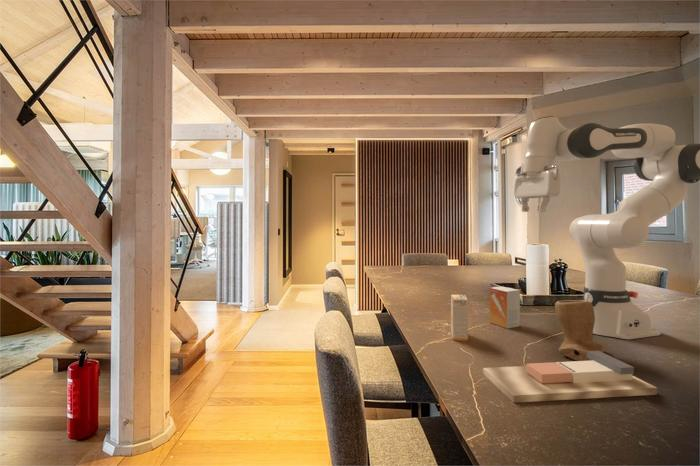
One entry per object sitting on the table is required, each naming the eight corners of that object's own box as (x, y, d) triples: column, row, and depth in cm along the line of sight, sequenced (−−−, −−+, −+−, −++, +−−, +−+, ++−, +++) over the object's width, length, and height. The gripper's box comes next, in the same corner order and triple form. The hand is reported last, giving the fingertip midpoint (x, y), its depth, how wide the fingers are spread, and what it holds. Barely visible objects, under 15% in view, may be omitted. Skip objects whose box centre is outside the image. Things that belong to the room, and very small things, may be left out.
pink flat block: (554, 370, 86) (554, 362, 86) (571, 381, 80) (571, 372, 80) (526, 371, 85) (526, 363, 85) (541, 383, 79) (541, 374, 79)
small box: (489, 322, 132) (489, 287, 132) (502, 320, 135) (502, 286, 134) (506, 328, 125) (506, 291, 124) (520, 326, 127) (520, 289, 127)
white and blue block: (604, 365, 89) (604, 350, 89) (640, 383, 79) (640, 366, 79) (550, 368, 88) (550, 352, 88) (579, 387, 78) (579, 369, 78)
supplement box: (468, 341, 113) (468, 299, 112) (452, 340, 114) (452, 299, 113) (465, 333, 121) (465, 294, 120) (450, 332, 122) (450, 293, 121)
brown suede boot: (560, 342, 111) (560, 293, 110) (607, 351, 103) (608, 298, 102) (546, 356, 100) (546, 302, 99) (598, 367, 92) (599, 309, 91)
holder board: (605, 367, 91) (605, 362, 91) (656, 394, 77) (656, 387, 77) (483, 374, 89) (483, 368, 89) (513, 402, 75) (513, 395, 75)
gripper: (569, 165, 105) (562, 212, 106) (530, 173, 125) (525, 212, 126) (548, 163, 105) (542, 210, 105) (512, 171, 125) (508, 210, 126)
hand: (532, 211), depth 116 cm, fingers open, 8 cm apart
